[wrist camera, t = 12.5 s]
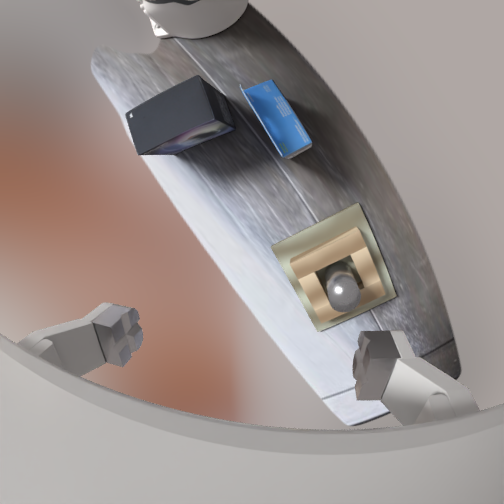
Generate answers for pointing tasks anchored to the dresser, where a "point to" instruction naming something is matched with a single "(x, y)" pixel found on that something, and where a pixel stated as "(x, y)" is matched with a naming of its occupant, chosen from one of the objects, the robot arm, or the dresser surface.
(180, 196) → the dresser surface
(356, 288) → the peg
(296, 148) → the label tape box
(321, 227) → the hub block
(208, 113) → the small box
